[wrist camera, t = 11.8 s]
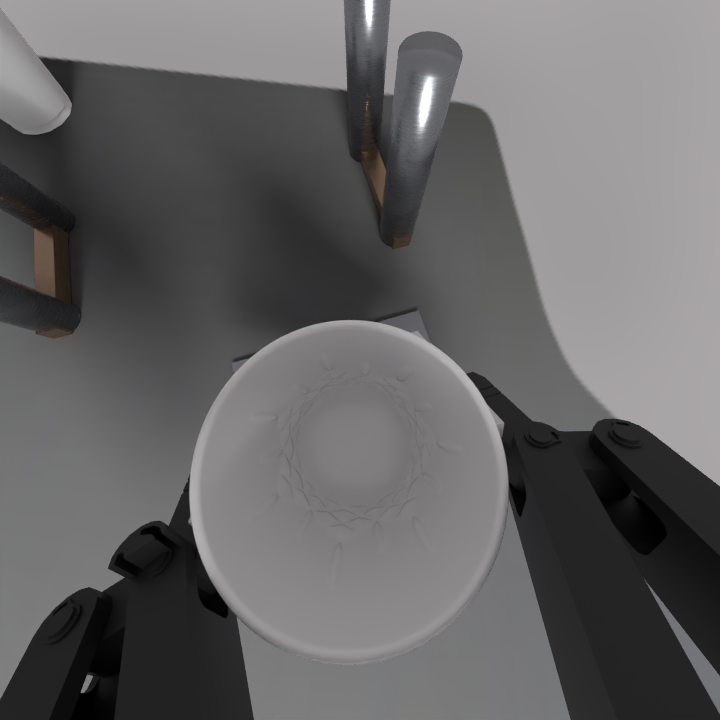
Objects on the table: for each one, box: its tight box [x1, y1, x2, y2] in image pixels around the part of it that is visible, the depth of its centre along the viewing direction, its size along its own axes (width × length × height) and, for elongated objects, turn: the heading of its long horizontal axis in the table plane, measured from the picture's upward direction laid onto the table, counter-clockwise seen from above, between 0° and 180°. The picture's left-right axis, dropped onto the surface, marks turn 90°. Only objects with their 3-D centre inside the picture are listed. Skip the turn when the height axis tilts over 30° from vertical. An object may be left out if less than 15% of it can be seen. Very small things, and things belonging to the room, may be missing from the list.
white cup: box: [189, 320, 509, 665], centre depth 11 cm, size 8×8×10 cm
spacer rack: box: [0, 0, 462, 338], centre depth 18 cm, size 33×13×12 cm, turn 106°
